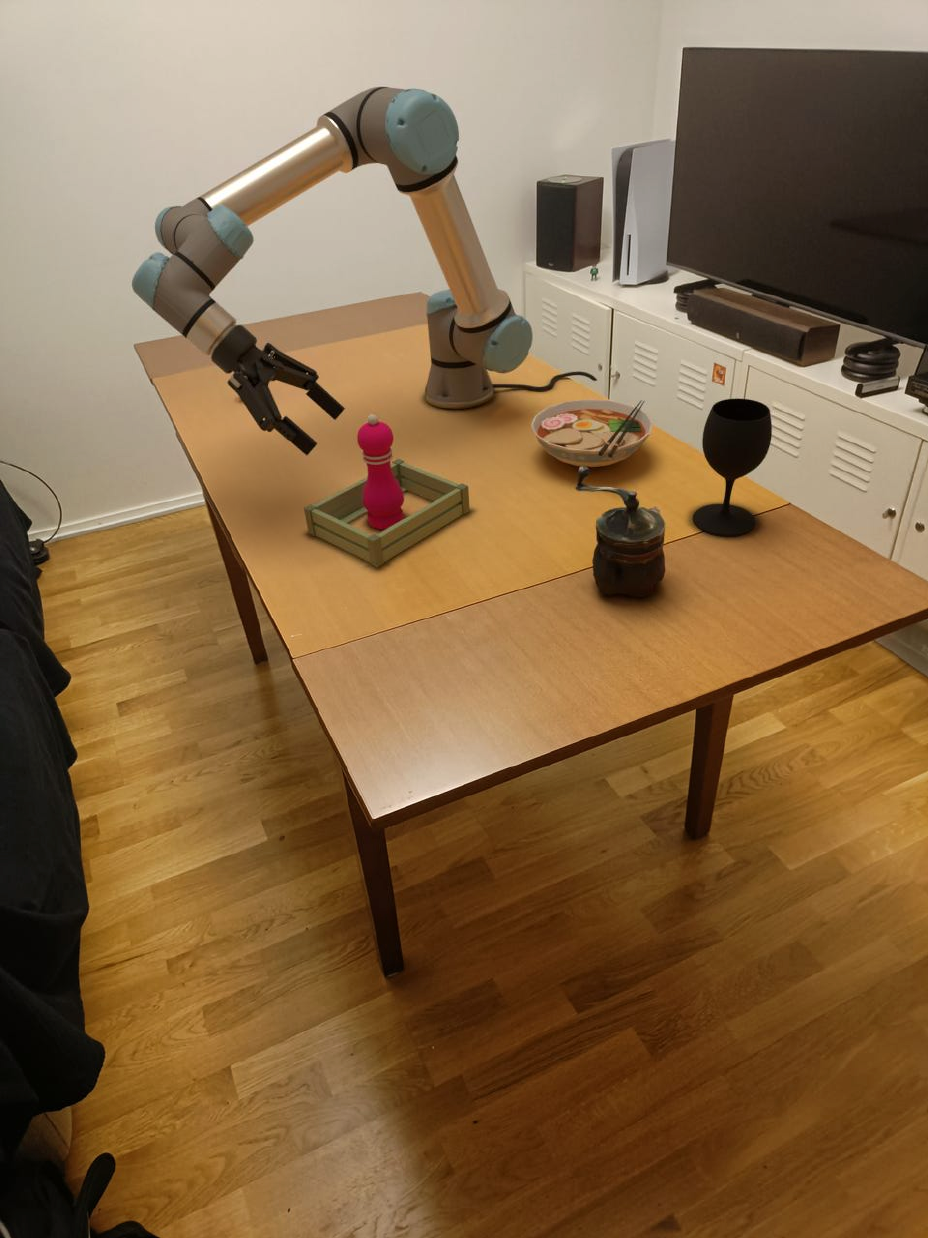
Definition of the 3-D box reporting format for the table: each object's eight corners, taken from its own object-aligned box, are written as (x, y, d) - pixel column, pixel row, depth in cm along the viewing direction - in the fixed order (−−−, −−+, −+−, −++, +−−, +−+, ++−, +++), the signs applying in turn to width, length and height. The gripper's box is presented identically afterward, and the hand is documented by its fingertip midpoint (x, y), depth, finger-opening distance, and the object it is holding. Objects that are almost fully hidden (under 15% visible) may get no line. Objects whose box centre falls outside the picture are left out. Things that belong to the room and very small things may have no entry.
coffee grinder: (587, 553, 138) (591, 452, 127) (675, 575, 131) (687, 471, 120) (553, 594, 129) (554, 489, 118) (645, 620, 123) (655, 512, 112)
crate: (401, 483, 160) (398, 458, 157) (469, 511, 150) (468, 485, 147) (308, 533, 147) (303, 507, 144) (377, 568, 138) (373, 541, 134)
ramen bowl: (557, 424, 177) (558, 386, 172) (665, 440, 168) (669, 401, 163) (510, 477, 159) (509, 438, 154) (627, 498, 151) (630, 457, 146)
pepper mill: (365, 512, 152) (350, 407, 140) (405, 508, 152) (394, 403, 140) (365, 533, 146) (349, 425, 134) (407, 529, 147) (394, 421, 135)
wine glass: (757, 509, 145) (777, 398, 133) (753, 540, 138) (774, 426, 126) (696, 502, 148) (710, 393, 136) (688, 532, 141) (702, 420, 129)
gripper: (244, 329, 147) (338, 414, 153) (175, 386, 127) (286, 480, 133) (266, 298, 142) (362, 387, 148) (199, 352, 123) (312, 451, 129)
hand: (326, 431), depth 141 cm, fingers open, 13 cm apart
